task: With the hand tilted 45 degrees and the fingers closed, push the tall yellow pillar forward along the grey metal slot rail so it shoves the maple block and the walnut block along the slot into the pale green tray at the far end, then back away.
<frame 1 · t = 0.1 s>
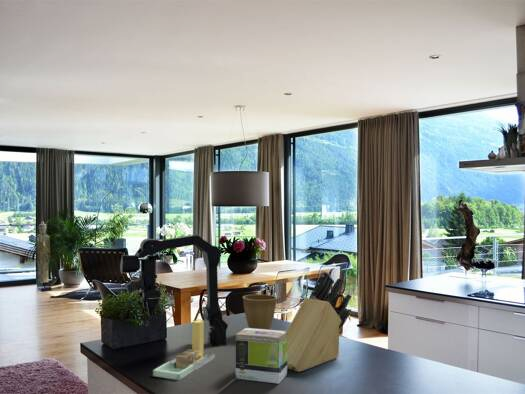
hand: (148, 313, 191), 15 cm above the kitchen island, tool pointing down, fingers open, 9 cm apart
walnut block: (184, 366, 170), point 1 cm above the kitchen island, touching slot rail
tray: (173, 376, 163), on the kitchen island
slot rail: (192, 365, 175), on the kitchen island
tea box: (261, 377, 164), on the kitchen island
plant pot: (259, 334, 219), on the kitchen island
maple block: (190, 362, 174), point 1 cm above the kitchen island, touching slot rail
tall yellow pillar: (197, 340, 178), point 8 cm above the kitchen island, slide at 0.0 cm
knife block: (314, 360, 183), on the kitchen island
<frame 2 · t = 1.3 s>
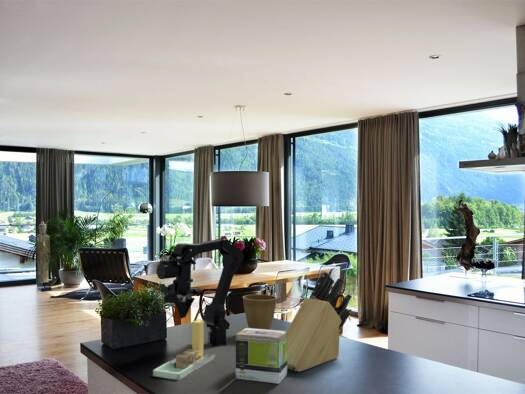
hand: (182, 317, 191), 13 cm above the kitchen island, tool pointing down, fingers closed
nothing on the kitchen island moved.
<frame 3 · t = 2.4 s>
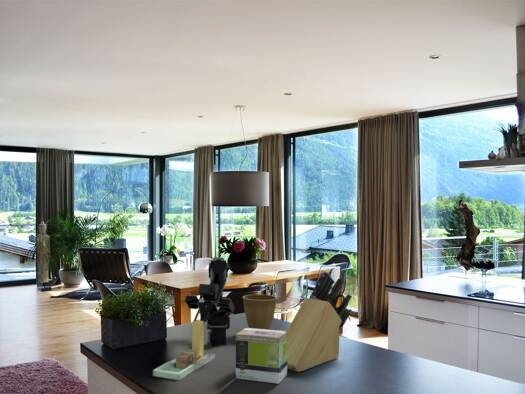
hand: (201, 323, 182), 13 cm above the kitchen island, tool tilted 45°, fingers closed
nothing on the kitchen island moved.
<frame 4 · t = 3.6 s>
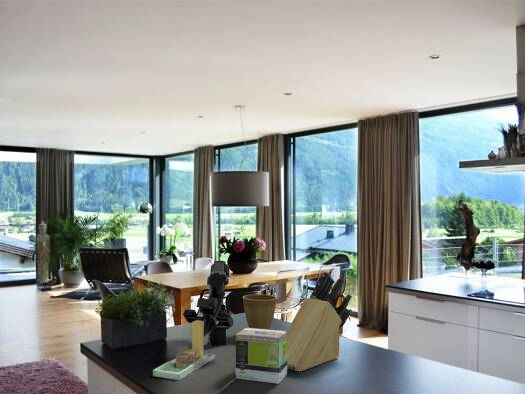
hand: (200, 338, 180), 8 cm above the kitchen island, tool tilted 45°, fingers closed, pressing on tall yellow pillar
tall yellow pillar: (197, 340, 178), point 8 cm above the kitchen island, slide at 0.1 cm, touching gripper
everything else where it was.
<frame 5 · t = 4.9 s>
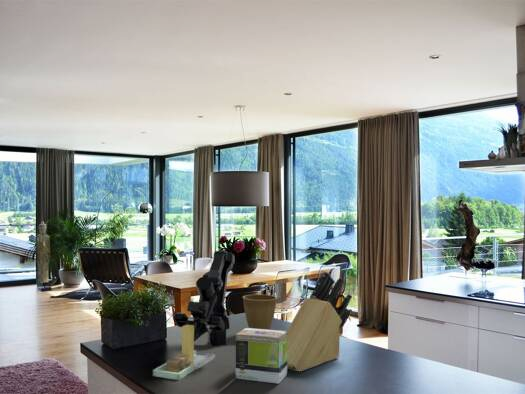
hand: (190, 343, 174), 8 cm above the kitchen island, tool tilted 45°, fingers closed, pressing on tall yellow pillar
walnut block: (174, 372, 164), point 1 cm above the kitchen island, touching tray
maple block: (181, 368, 168), point 1 cm above the kitchen island, touching tall yellow pillar, slot rail, tray
tall yellow pillar: (187, 345, 172), point 8 cm above the kitchen island, slide at 7.1 cm, touching gripper, maple block
everything else where it was.
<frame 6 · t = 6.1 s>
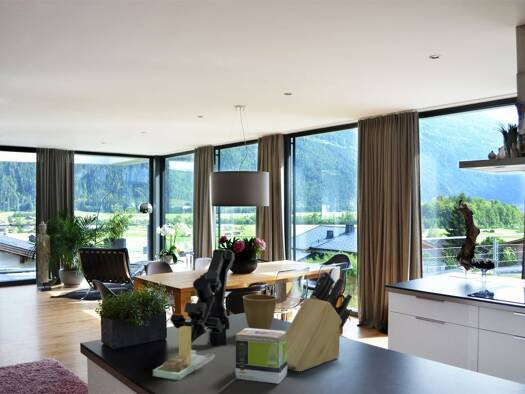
hand: (187, 344, 172), 8 cm above the kitchen island, tool tilted 45°, fingers closed
walnut block: (171, 374, 162), point 1 cm above the kitchen island, touching maple block, tray
maple block: (178, 370, 166), point 1 cm above the kitchen island, touching tall yellow pillar, slot rail, tray, walnut block
tall yellow pillar: (184, 346, 170), point 8 cm above the kitchen island, slide at 9.0 cm, touching maple block
everything else where it was.
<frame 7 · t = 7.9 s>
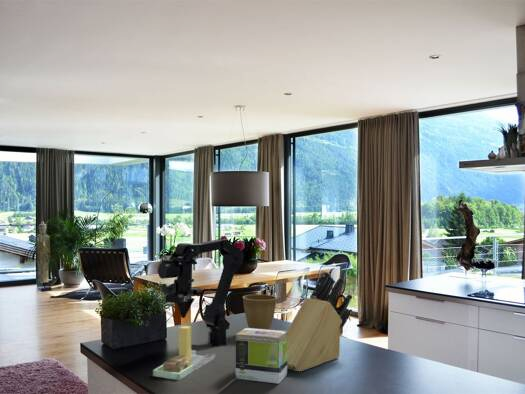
hand: (183, 317, 190), 13 cm above the kitchen island, tool pointing down, fingers closed
nothing on the kitchen island moved.
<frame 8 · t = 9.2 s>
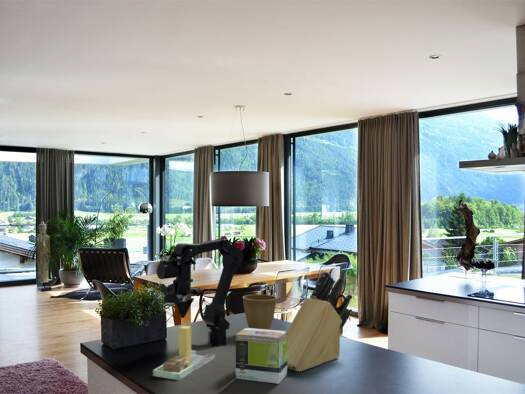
hand: (182, 317, 191), 13 cm above the kitchen island, tool pointing down, fingers closed
walnut block: (171, 374, 162), point 1 cm above the kitchen island, touching tray
maple block: (178, 370, 166), point 1 cm above the kitchen island, touching tall yellow pillar, slot rail, tray
everything else where it was.
at the end: tall yellow pillar slide at 9.0 cm; maple block 3.0 cm from the tray (horizontally); walnut block 1.0 cm from the tray (horizontally) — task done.
